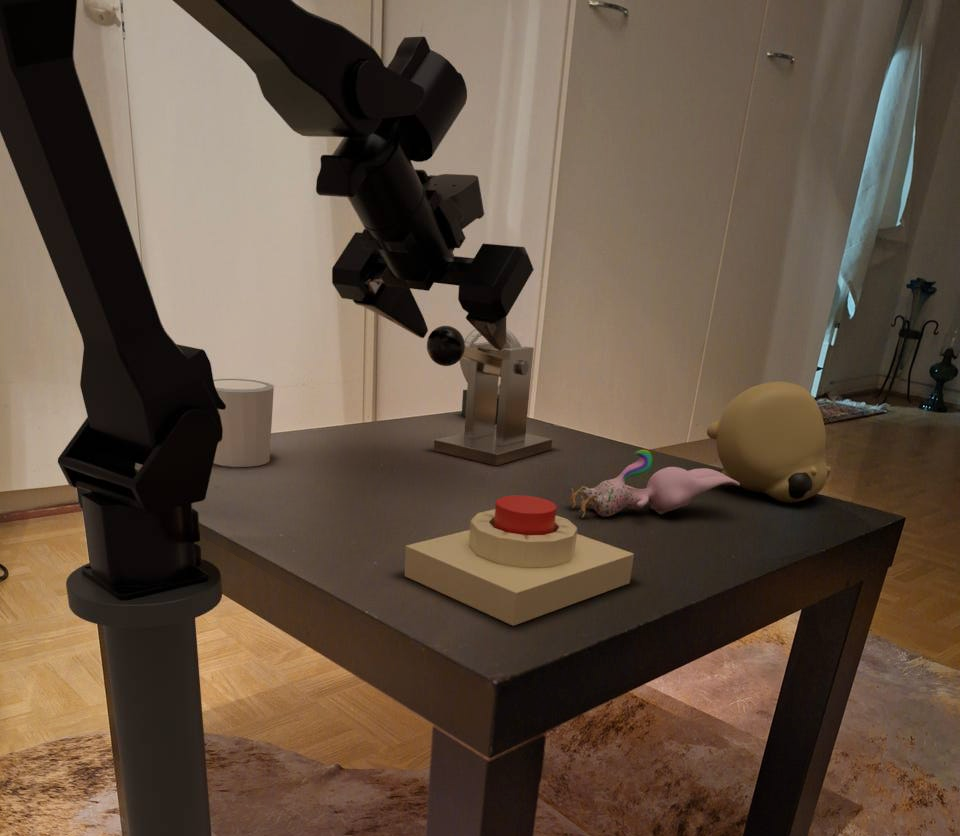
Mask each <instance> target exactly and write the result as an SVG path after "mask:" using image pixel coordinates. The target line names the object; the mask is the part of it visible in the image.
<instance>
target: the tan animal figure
mask: <svg viewBox="0 0 960 836" xmlns="http://www.w3.org/2000/svg"><path fill="white" fill-rule="evenodd" d="M706 435H707V436H708V438H709V439H712V440H715V442H716V451H717V455H718V458H719V461H720V463H721V466H722V471H721V473H722V474H724V475H726V476H728V477H729V478H731V479H733V480H735V481H737V482H739V483H740V485H739V486H738V487H741V488H742V489H745V490H747V491H750V492H754V493H763V494H765V495H767V496H769V497H770V498H772V499H774V500H777V501H779V502H783V503H788V504H789V503H790V504H792V503H799V502H802V501H805V500H808V499H809V498H812V497H814V496H815V495H817V494H819V493H820V492H821V491H822V490H823V489H824V487H825V485H826V483H827V481H828V480H827V479H828V478H829V475H830V473H831V472H832V468H831V467H830V466H829V465H828V463H827V462H826V453H825V452H826V445H827V444H826V443H827V438H826V437H827V434H826V428H825V422H824V418H823V414H822V412H821V408H820V406H819V404H818V402H817V401H816V399H815V397H814V396H813V394H811V392H810V391H808V390H807V389H806V388H805V387H803V386H802V385H799V384H796V383H793V382H789V381H771V382H764V383H760V384H757V385H754V386H752V387H750V388H747V389H745V390H744V391H742V392H740V393H739V394H737V395H736V397H734V398H733V399H732V400H731V401H730V402H729V403H728V404H727V406H726V407H725V408H724V410H723V412H722V413H721V416H720V418H719V419H717V420H716V421H714V422H712V423H710V424H709V426H708V427H707V429H706ZM722 485H723V486H725V487H726V486H727V487H728V486H731V485H732V484H727V483H725V484H722Z"/></svg>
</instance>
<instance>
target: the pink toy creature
mask: <svg viewBox="0 0 960 836" xmlns="http://www.w3.org/2000/svg"><path fill="white" fill-rule="evenodd" d="M634 454H636V455H637V456H638V457H639V459H637V461H635V462H633V463H631V464H629V465H627V466H626V467H625V468H624V469H623V470H622V472H620V473H619V475H618V476H616V477H615V478H612V479H611V478H610V479H606V480H603V481H601V482H600V483H599V484H598V485H596V486H594V487H592V488H591V487H587V486H585V485H582V486H581V487H579V488H578V490H576V491H574V489H573V488H571V487H570V489H571V491H572V492H571V494H570V502H569V504H570V505H572V507H571V509H574V508H575V507H576V504H577V502H576V499H577V498H578V495H580V494H583V495H584V496H585V499H584V496H580V498H581V501H580V510H579V512H582V513H583V514H582V516H581V518H582V519H583V518H584V517H585V515H586V508H587V506H588V507H589V508H590V509H592V510H594V511H595V512H596V514H597V515H598V516H601V517H604V518H608V517H613V515H615V514H617V513H619V512H621V511H622V510H623V509H629V510H632V509H636V508H643V507H644V506H646V505H647V504H648V502H649V507H650V509H652V510H654V511H655V512H656V513H658V514H659V515H663V514H665V513H668V512H671V511H675V510H677V509H679V508H683V507H686V506H687V505H689V503H690V502H691V501H692V500H693V499H694V497H695V496H697V495H699V494H702V493H704V492H707V491H709V490H712V489H713V488H716V487H718V486H721V485H723V484H725V483H727V484H731V485H732V486H737V487H740V486H739V485H740V483H739V482H737V481H735V480H733V479H731V478H729V477H728V476H726V475H724V474H722V472H720V471H718V470H715V469H711V468H707V467H705V468H703V467H702V468H700V467H699V468H693V469H689V470H686V469H684V468H682V467H679V466H668V467H664V468H661V469H659V470H657V471H656V472H654V473H653V474H652V476H650V478H649V480H648V482H647V484H646V487H645V488H636V487H633V486H630V485H627V484H626V480H627V479H628V478H632V477H640V476H644V475H645V474H647V473H648V472H649V471H650V470H651V469H652V465H653V460H654V459H653V455H652V454H651V452H650V450H647V449H639V450H637V451H635V452H634Z"/></svg>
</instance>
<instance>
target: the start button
mask: <svg viewBox="0 0 960 836" xmlns="http://www.w3.org/2000/svg"><path fill="white" fill-rule="evenodd" d="M494 509H495V519H494V528H496V529H499V530H501V531H504V532H507V533H514V534H521V535H546V534H550V533H553V532H554V526H555V517H556V516H557V505H556V504H555V503H554V502H552V501H551V500H548V499H546V498H542V497H538V496H534V495H533V496H531V495H530V496H529V495H521V494H520V495H518V494H517V495H516V494H515V495H506V496H501V497H499V498H498V499H496V501H495V508H494Z"/></svg>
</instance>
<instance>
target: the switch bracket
mask: <svg viewBox="0 0 960 836" xmlns="http://www.w3.org/2000/svg"><path fill="white" fill-rule="evenodd" d="M473 343H474V342H473ZM470 348H473V349H476V350H479V351H482V352H485V353H487V348H489V349H495V350H497V349H496V348H495V347H493V346H492V345H491V344H490V343H489V342H488V341H487V342H475V343H474V344H470ZM534 349H535V348H534V347H531V346H522V347H518V348H508V349H503V354H502V367H501V377H498V376H494V375H491V374H487V373H484V372H483V368H484V364H481V363H478V362H475V361H471V360H469V370H468V383H467V388H466V390H467V402H466V417H465V416H464V417H465V418H464V420H465V421H464V432H461V433H457V434H453V435H448V436H444V437H440V438H436V439H435V438H434V441H433V452H437V453H442V454H446V455H450V456H454V457H459V458H462V459H467V460H470V461H471V460H472V461H474V462H479V463H483V464H487V465H491V466H496V467H497V466H500V465H503V464H507V463H510V462H514V461H517V460H522V459H524V458H527V457H531V456H535V455H538V454H541V453H544V452H548V451H551V450H552V446H553V439H552V438H549V437H544V436H540V435H535V434H531V433H527V424H528V413H529V412H528V411H529V404H530V403H529V402H530V391H531V381H532V370H533V359H534ZM499 379H500V380H499ZM499 381H500V382H499ZM499 385H500V392H499V404H498V417H497V424H495V420H496V407H497V394H498V386H499Z"/></svg>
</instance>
